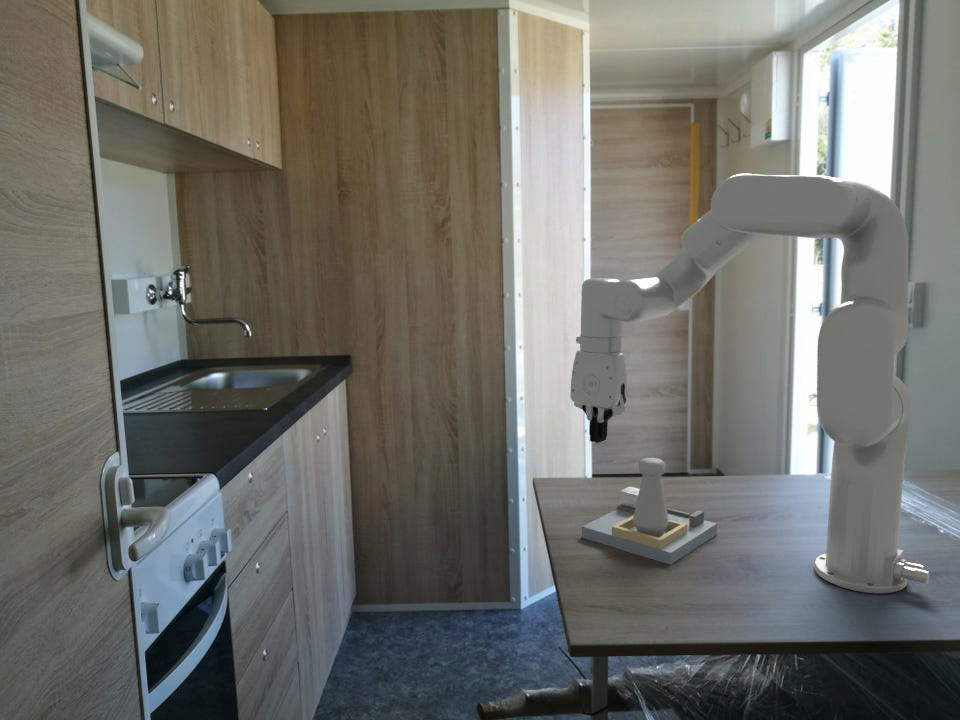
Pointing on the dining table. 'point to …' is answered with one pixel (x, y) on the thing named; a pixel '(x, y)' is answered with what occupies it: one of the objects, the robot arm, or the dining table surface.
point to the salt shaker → (651, 499)
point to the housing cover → (629, 497)
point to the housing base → (667, 548)
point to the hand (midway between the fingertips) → (598, 440)
